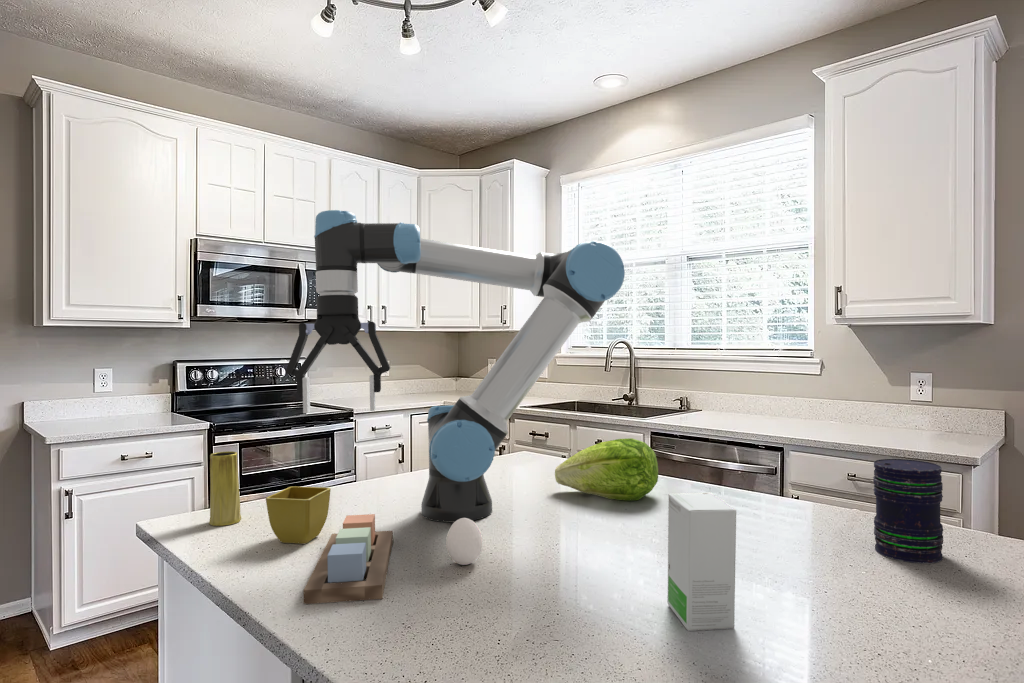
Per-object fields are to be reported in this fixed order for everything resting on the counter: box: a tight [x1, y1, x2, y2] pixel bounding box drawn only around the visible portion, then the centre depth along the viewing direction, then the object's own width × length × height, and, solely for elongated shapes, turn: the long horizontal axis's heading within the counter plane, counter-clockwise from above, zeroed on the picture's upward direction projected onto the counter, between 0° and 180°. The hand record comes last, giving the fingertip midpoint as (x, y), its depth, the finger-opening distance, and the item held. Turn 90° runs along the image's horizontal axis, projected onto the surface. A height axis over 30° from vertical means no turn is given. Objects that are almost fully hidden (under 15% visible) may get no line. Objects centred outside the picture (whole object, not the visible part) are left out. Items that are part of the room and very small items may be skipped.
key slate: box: [327, 543, 366, 583], centre depth 95 cm, size 5×5×4 cm
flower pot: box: [265, 485, 331, 545], centre depth 118 cm, size 9×9×9 cm
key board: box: [302, 530, 394, 605], centre depth 103 cm, size 11×26×2 cm, turn 7°
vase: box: [208, 450, 242, 527], centre depth 131 cm, size 6×6×14 cm
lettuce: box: [554, 438, 659, 502], centre depth 147 cm, size 14×24×15 cm
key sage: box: [336, 527, 371, 562], centre depth 103 cm, size 5×5×4 cm
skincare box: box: [666, 491, 737, 632], centre depth 83 cm, size 8×7×16 cm
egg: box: [445, 518, 484, 566], centre depth 104 cm, size 6×6×8 cm
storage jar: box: [872, 458, 944, 565], centre depth 106 cm, size 10×10×15 cm
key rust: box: [342, 513, 376, 545], centre depth 111 cm, size 5×5×4 cm
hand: (340, 411), depth 118 cm, fingers open, 11 cm apart
